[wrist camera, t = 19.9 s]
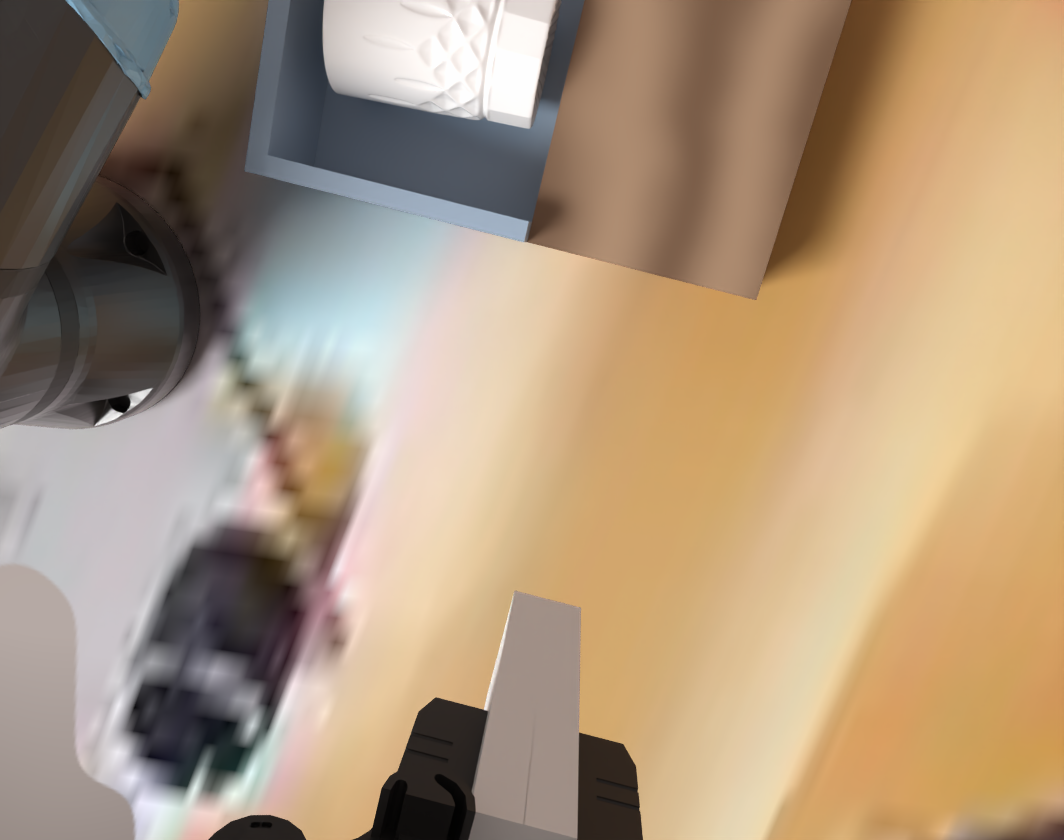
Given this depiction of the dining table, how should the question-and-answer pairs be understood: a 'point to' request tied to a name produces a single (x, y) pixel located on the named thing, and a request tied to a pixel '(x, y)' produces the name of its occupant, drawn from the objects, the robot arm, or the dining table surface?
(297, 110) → the box
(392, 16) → the white cup
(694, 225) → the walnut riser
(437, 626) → the dining table surface
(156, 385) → the robot arm
